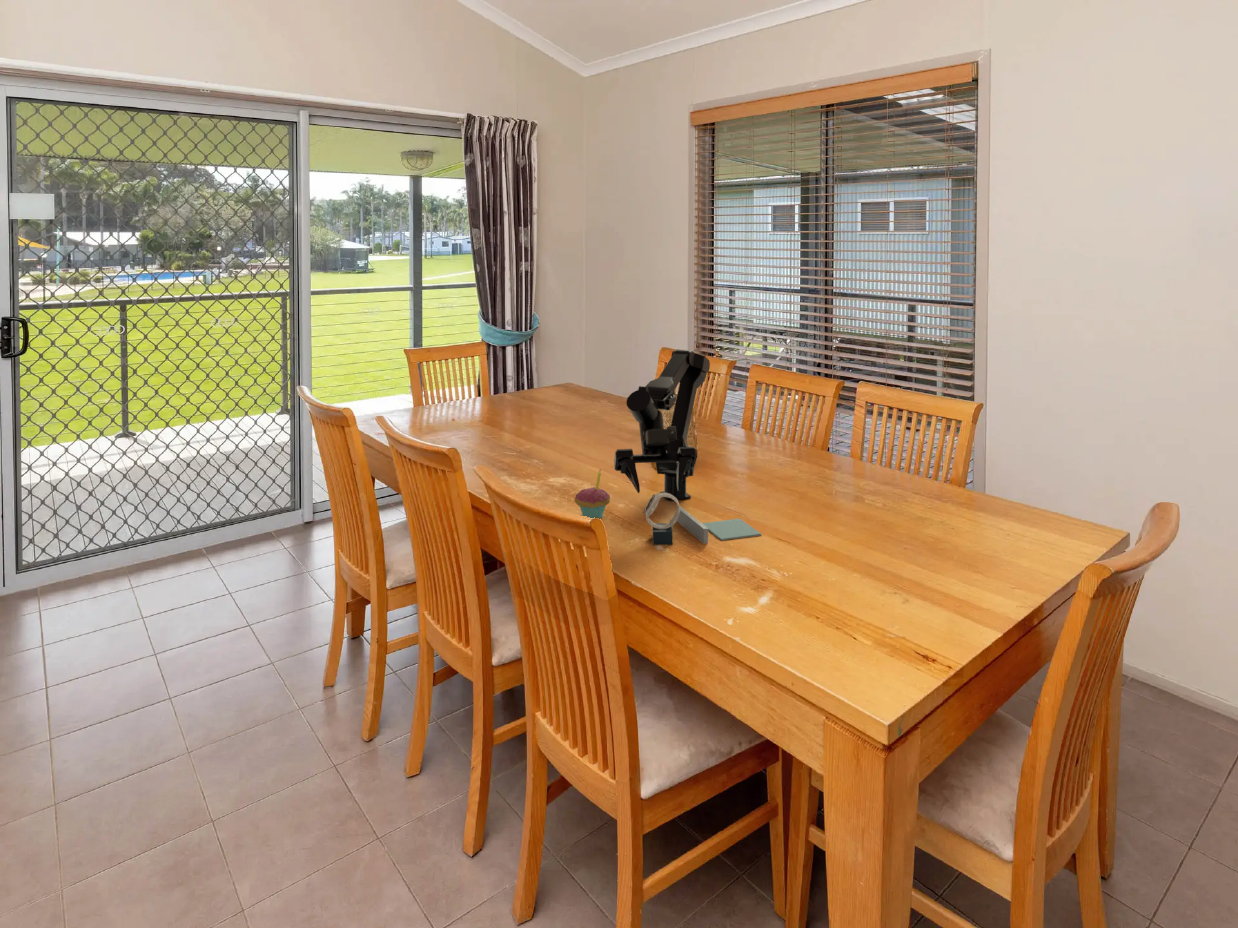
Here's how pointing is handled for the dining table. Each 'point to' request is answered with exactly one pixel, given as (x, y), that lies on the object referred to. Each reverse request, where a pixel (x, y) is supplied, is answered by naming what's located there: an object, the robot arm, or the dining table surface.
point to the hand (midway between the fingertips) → (659, 491)
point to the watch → (661, 531)
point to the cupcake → (592, 500)
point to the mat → (731, 529)
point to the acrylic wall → (693, 526)
